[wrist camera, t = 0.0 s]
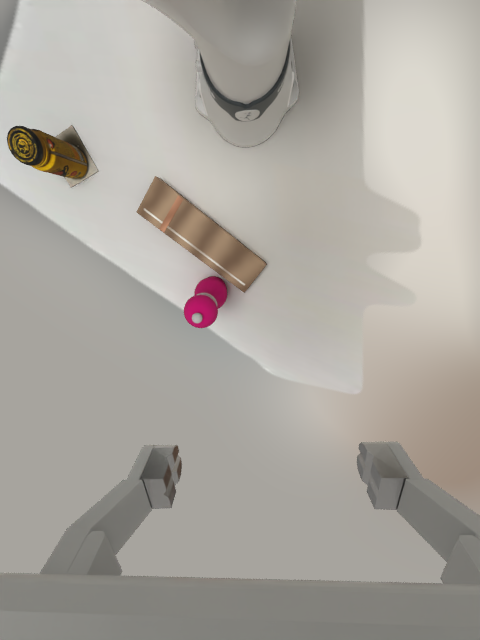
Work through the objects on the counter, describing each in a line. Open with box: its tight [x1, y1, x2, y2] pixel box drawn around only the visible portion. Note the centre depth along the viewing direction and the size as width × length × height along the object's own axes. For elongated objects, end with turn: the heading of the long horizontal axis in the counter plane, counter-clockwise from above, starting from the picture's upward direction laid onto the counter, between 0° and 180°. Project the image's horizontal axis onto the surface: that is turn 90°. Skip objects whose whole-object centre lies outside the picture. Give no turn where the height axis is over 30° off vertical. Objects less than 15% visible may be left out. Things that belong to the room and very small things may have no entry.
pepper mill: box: [184, 276, 227, 328], centre depth 48 cm, size 7×7×20 cm
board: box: [137, 176, 267, 293], centre depth 52 cm, size 28×8×3 cm, turn 53°
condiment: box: [7, 125, 98, 187], centre depth 43 cm, size 7×8×12 cm
